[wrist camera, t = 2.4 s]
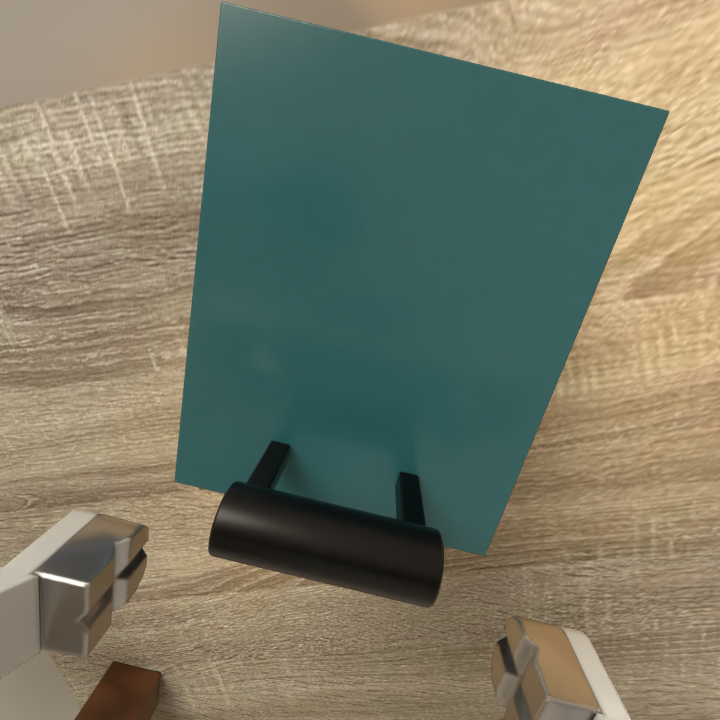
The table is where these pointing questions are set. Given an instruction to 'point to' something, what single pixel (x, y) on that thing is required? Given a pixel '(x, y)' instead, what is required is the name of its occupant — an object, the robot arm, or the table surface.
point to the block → (123, 695)
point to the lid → (386, 293)
